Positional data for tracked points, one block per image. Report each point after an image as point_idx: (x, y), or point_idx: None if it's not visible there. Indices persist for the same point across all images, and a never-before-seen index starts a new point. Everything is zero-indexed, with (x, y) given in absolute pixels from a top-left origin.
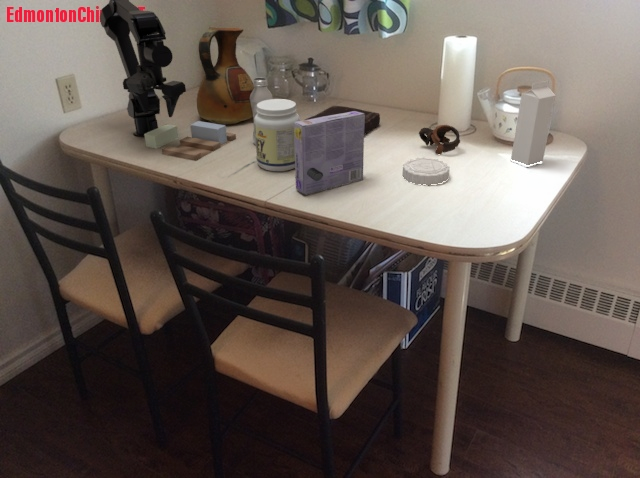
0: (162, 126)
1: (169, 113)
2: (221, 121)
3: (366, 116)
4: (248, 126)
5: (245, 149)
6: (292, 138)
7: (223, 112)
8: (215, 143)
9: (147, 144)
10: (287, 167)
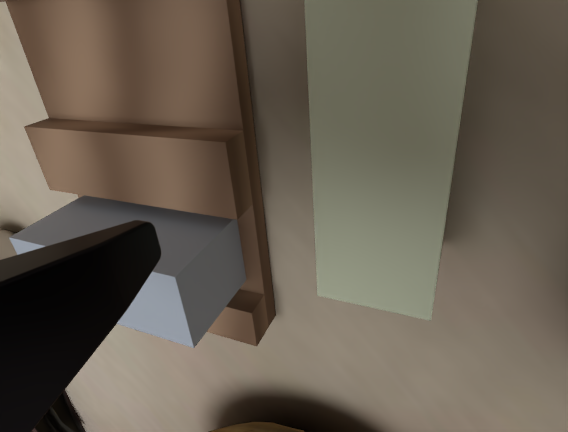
0: (428, 263)
1: (89, 235)
2: (251, 426)
3: None
4: (211, 418)
5: (40, 213)
6: None
7: None
8: (49, 168)
9: None
10: None
